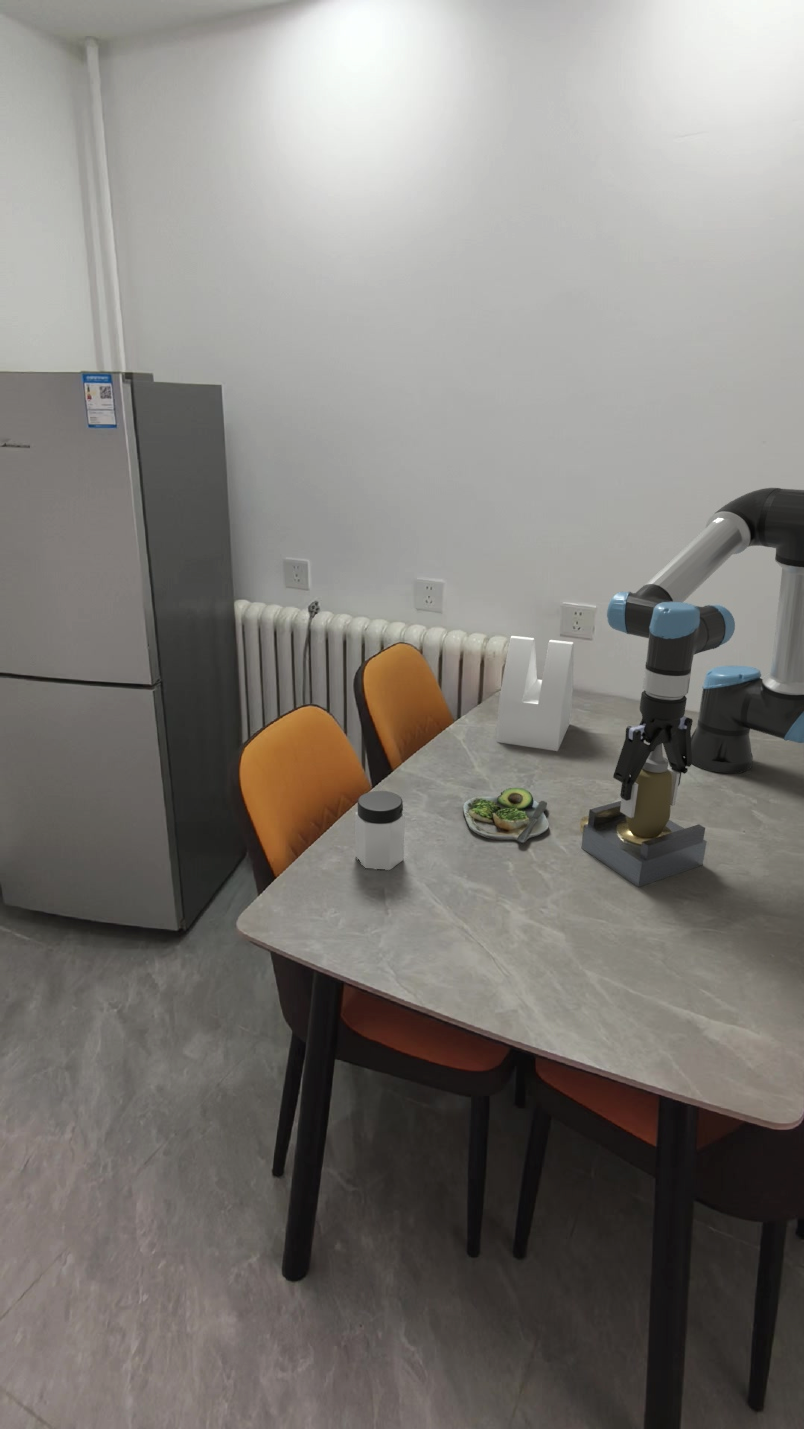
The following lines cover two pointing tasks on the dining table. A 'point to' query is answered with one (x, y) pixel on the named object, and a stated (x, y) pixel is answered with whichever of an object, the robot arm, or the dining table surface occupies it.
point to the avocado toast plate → (507, 815)
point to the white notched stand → (535, 695)
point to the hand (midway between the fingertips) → (647, 808)
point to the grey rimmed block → (641, 846)
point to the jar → (379, 830)
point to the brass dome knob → (583, 823)
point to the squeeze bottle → (652, 796)
